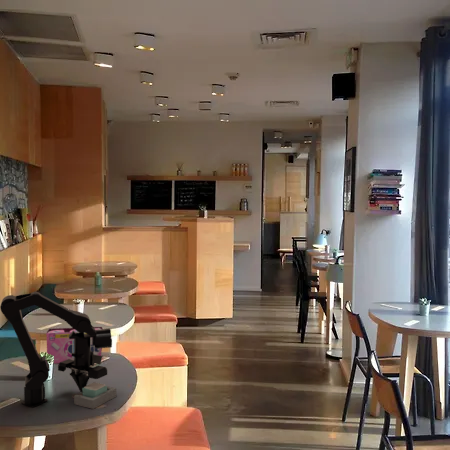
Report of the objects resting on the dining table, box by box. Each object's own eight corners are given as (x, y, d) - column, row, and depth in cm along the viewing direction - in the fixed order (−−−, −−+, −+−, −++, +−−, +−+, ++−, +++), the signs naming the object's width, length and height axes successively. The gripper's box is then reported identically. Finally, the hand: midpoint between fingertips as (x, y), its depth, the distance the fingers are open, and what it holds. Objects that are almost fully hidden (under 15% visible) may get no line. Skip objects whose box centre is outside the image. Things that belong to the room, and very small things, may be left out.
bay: (92, 408, 184) (92, 400, 184) (74, 404, 188) (74, 395, 188) (116, 396, 196) (116, 388, 195) (98, 392, 199) (98, 384, 199)
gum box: (104, 356, 242) (104, 326, 241) (103, 361, 234) (103, 331, 233) (49, 358, 238) (48, 328, 237) (46, 364, 230) (45, 333, 229)
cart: (94, 405, 187) (94, 390, 187) (81, 402, 190) (81, 387, 190) (108, 398, 194) (108, 384, 193) (95, 395, 197) (95, 381, 196)
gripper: (117, 347, 196) (117, 389, 197) (78, 340, 205) (78, 380, 206) (96, 356, 186) (96, 400, 187) (56, 347, 195) (57, 389, 196)
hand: (82, 392), depth 195 cm, fingers closed
